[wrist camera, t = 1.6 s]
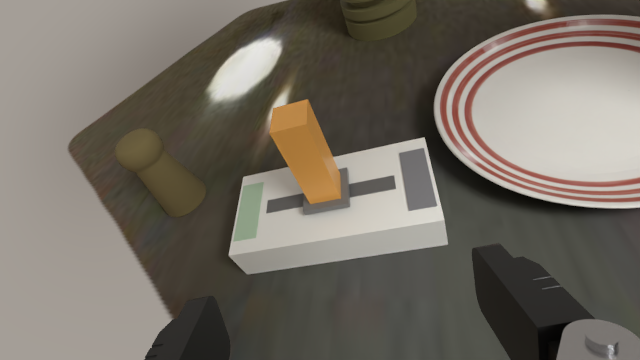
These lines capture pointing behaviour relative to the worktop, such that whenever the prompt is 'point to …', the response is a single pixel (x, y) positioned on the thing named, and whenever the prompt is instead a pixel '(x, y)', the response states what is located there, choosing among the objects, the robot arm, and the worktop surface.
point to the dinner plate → (551, 110)
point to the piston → (377, 17)
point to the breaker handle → (309, 158)
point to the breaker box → (341, 212)
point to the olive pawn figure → (160, 172)
